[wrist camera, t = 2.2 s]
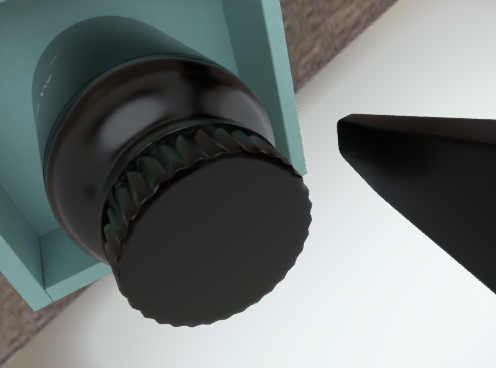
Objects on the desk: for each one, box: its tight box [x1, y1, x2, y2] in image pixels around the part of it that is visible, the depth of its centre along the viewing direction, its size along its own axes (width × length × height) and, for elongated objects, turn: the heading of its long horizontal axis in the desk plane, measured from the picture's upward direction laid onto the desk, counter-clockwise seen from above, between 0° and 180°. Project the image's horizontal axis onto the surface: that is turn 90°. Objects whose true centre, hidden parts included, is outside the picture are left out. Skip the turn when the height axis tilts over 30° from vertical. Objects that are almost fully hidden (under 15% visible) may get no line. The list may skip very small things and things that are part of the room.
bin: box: [0, 0, 307, 311], centre depth 17 cm, size 14×12×4 cm
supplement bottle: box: [32, 16, 312, 327], centre depth 14 cm, size 7×7×12 cm
